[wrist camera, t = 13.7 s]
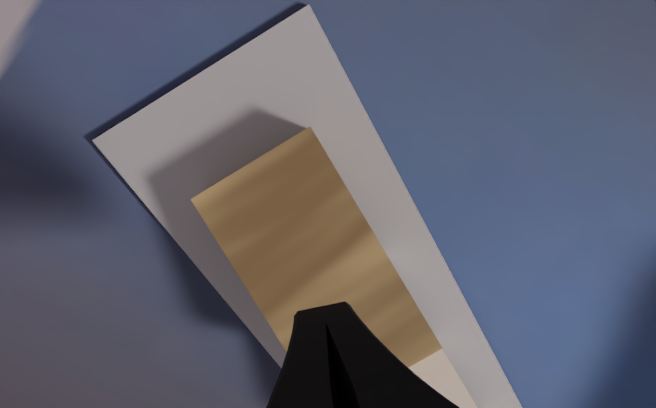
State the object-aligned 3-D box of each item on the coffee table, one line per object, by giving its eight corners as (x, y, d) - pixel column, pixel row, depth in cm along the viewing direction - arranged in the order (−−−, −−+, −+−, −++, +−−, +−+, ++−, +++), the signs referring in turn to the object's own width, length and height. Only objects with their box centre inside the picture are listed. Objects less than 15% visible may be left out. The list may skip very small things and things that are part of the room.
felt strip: (94, 138, 15) (92, 140, 15) (308, 5, 15) (309, 4, 14) (442, 558, 27) (443, 564, 27) (566, 492, 27) (569, 497, 26)
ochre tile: (190, 199, 14) (325, 414, 15) (310, 126, 14) (442, 348, 15) (206, 195, 16) (326, 387, 17) (312, 130, 16) (430, 328, 17)
